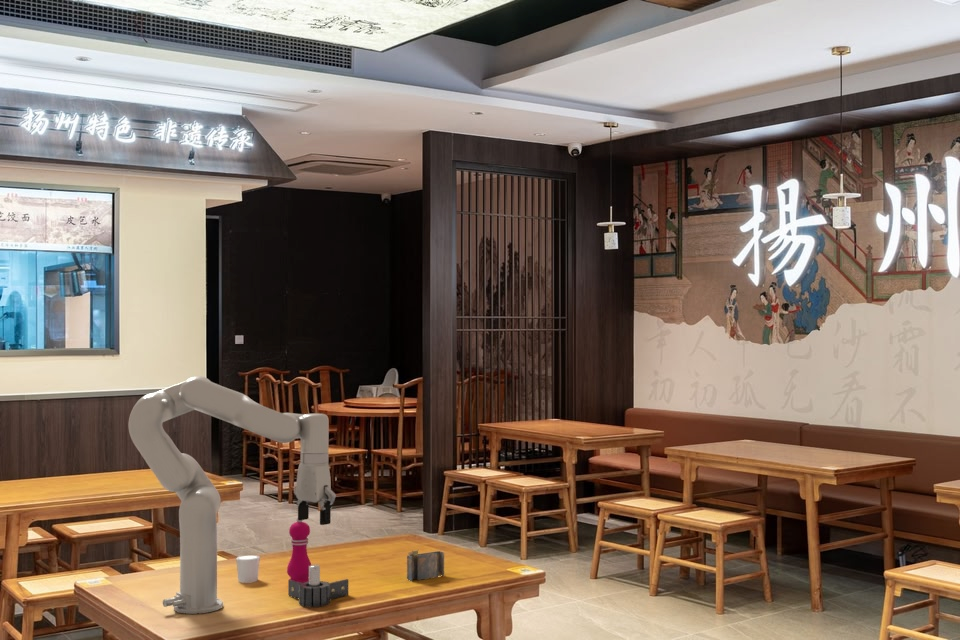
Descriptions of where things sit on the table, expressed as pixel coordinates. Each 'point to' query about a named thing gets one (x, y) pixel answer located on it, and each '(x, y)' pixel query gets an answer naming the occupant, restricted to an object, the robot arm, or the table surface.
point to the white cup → (248, 568)
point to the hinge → (317, 592)
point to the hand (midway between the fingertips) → (314, 521)
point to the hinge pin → (314, 575)
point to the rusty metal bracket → (425, 565)
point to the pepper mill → (299, 552)
